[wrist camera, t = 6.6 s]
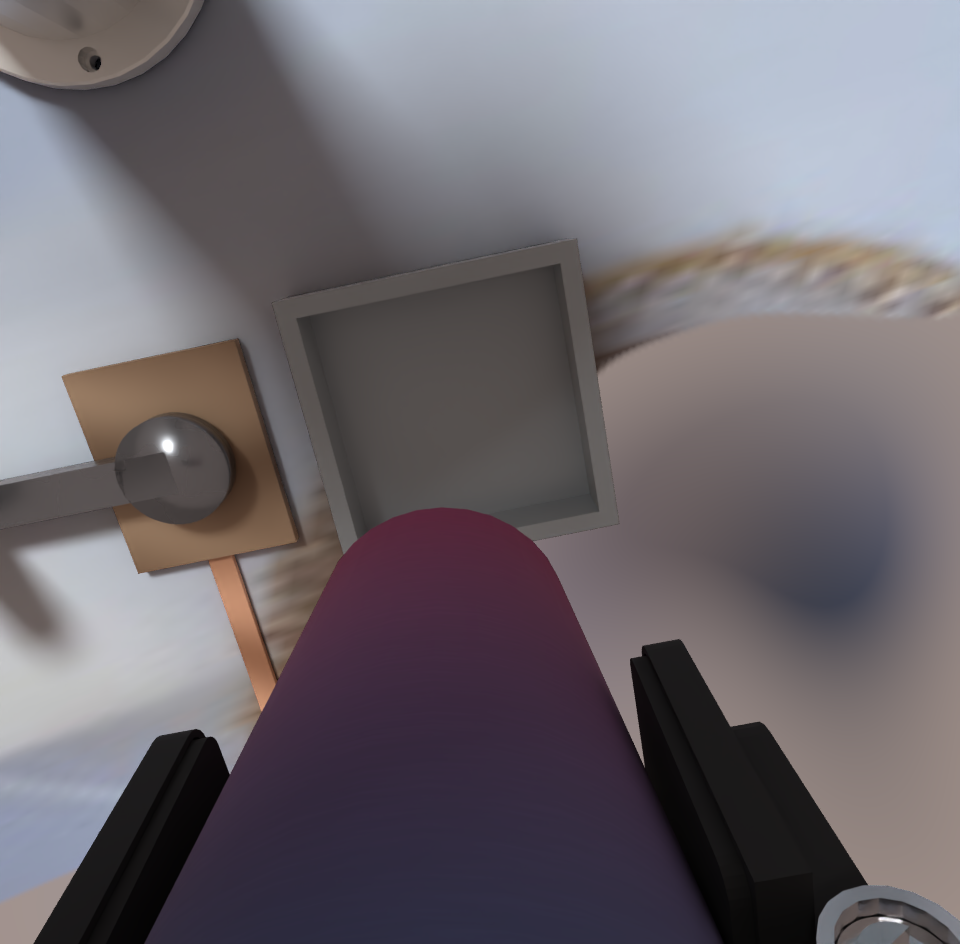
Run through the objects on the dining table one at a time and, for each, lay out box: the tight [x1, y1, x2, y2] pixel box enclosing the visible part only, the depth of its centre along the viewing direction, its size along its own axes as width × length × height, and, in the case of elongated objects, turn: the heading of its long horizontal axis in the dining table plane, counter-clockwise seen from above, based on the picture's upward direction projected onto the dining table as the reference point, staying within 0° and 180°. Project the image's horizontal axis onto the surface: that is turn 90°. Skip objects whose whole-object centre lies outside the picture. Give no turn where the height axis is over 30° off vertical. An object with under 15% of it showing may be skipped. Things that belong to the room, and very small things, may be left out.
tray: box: [272, 239, 619, 554], centre depth 32 cm, size 13×13×3 cm
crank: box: [0, 412, 236, 529], centre depth 30 cm, size 16×5×7 cm, turn 101°
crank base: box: [62, 339, 299, 711], centre depth 35 cm, size 21×8×1 cm, turn 11°
